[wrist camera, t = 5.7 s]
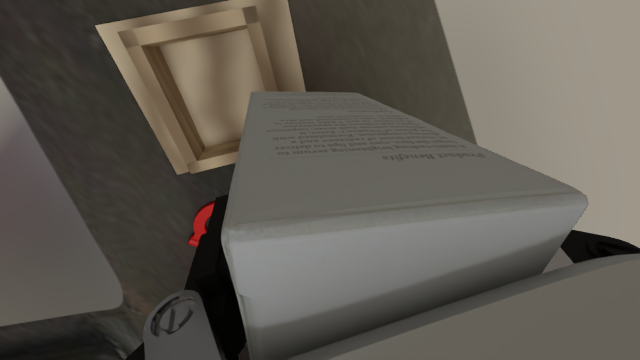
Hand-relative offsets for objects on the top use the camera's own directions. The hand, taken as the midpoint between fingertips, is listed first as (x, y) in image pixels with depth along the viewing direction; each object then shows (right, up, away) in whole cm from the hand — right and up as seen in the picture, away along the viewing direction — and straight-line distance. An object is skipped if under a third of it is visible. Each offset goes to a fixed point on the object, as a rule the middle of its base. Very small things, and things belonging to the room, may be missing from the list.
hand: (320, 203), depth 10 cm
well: (-11, +11, +17) cm, 23 cm away
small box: (-1, +2, +4) cm, 4 cm away
